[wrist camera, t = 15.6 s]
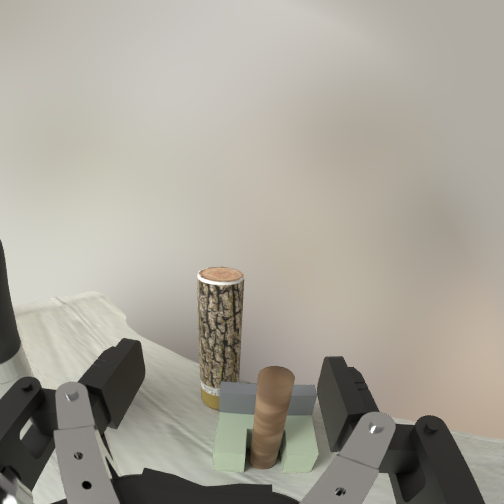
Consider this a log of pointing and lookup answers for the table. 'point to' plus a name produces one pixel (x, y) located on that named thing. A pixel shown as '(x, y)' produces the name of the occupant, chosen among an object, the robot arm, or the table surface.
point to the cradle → (240, 436)
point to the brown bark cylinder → (219, 329)
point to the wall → (244, 398)
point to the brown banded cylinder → (270, 414)
